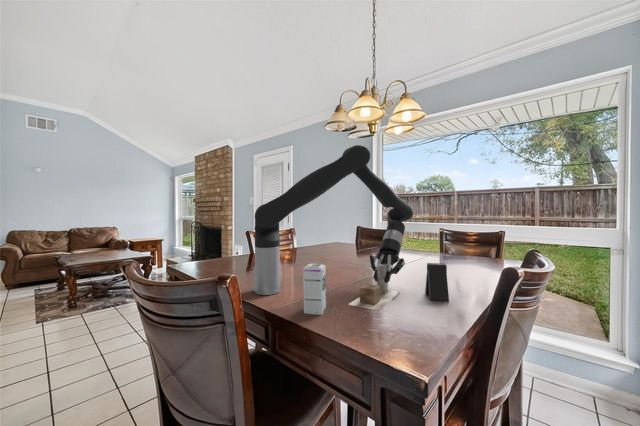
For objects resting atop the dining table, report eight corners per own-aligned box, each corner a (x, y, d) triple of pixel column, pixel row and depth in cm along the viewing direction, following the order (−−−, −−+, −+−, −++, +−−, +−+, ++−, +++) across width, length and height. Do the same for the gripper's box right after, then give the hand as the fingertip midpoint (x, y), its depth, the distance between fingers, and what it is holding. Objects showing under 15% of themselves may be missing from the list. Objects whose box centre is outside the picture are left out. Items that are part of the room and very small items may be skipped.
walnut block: (359, 302, 88) (359, 287, 88) (365, 298, 92) (365, 283, 92) (374, 305, 85) (374, 289, 85) (380, 301, 89) (380, 285, 89)
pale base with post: (348, 306, 86) (348, 273, 86) (373, 289, 105) (373, 261, 104) (378, 313, 81) (378, 277, 81) (399, 293, 99) (399, 264, 99)
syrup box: (322, 318, 78) (322, 267, 77) (303, 316, 79) (302, 266, 79) (326, 310, 83) (326, 263, 83) (307, 309, 84) (307, 263, 84)
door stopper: (449, 301, 91) (449, 266, 91) (430, 300, 92) (430, 265, 92) (442, 293, 100) (442, 261, 100) (425, 292, 101) (425, 260, 101)
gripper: (372, 236, 108) (359, 272, 98) (407, 238, 101) (398, 278, 91) (376, 248, 113) (365, 284, 103) (411, 251, 105) (402, 290, 95)
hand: (380, 281), depth 97 cm, fingers closed on pale base with post, 3 cm apart
